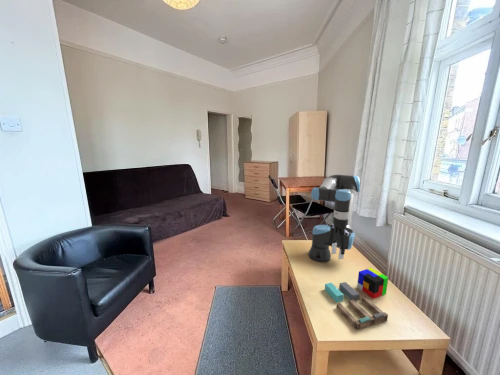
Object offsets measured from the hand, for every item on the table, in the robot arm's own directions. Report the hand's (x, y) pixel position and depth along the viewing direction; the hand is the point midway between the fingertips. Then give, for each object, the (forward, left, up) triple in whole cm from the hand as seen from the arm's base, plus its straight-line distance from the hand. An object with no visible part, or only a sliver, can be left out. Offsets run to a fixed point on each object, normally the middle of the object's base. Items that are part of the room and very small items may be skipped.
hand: (337, 256), depth 119 cm
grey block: (+11, 0, -17) cm, 20 cm away
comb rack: (+24, -4, -17) cm, 29 cm away
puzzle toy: (+12, +14, -17) cm, 25 cm away
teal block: (+9, -8, -17) cm, 21 cm away
